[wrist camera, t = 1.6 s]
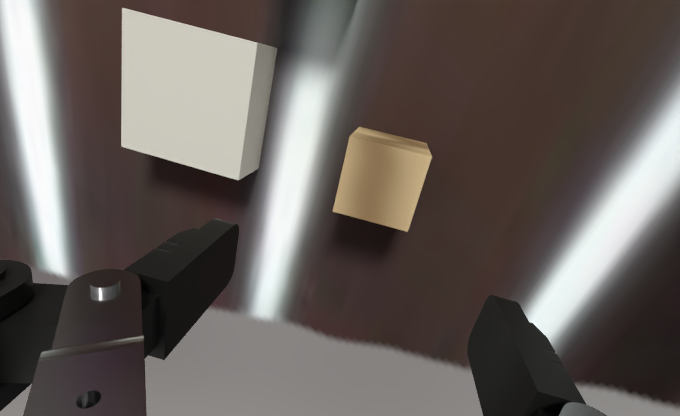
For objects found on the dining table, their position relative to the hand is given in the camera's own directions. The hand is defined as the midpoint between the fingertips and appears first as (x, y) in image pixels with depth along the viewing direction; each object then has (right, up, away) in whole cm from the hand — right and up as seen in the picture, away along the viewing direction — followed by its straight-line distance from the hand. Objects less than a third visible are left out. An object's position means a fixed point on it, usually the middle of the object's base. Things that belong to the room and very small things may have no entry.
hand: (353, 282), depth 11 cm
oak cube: (+3, +5, +15) cm, 17 cm away
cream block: (-10, +11, +16) cm, 22 cm away
